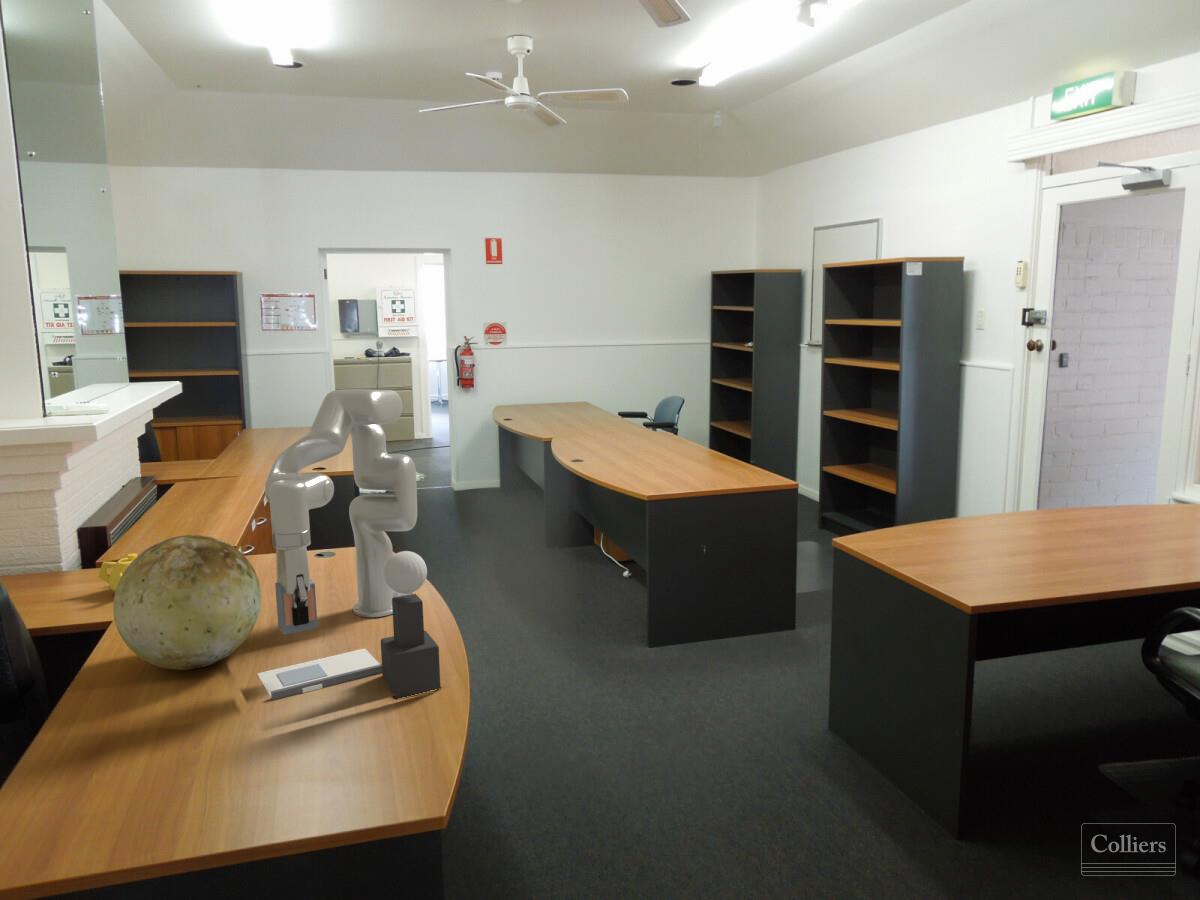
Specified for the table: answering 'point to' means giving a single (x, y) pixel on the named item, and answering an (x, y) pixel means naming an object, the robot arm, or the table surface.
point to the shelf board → (319, 673)
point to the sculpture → (408, 631)
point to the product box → (286, 610)
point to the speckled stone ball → (187, 602)
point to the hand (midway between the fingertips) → (297, 619)
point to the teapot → (115, 570)
